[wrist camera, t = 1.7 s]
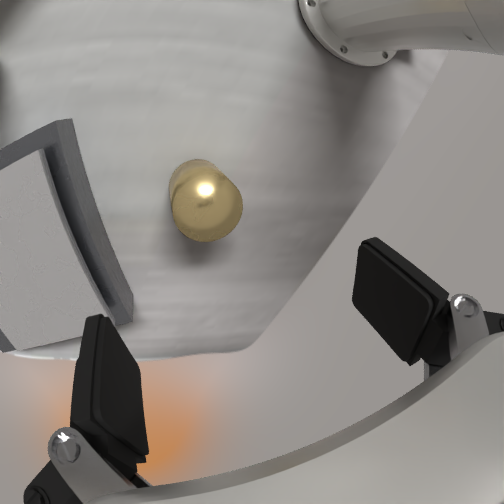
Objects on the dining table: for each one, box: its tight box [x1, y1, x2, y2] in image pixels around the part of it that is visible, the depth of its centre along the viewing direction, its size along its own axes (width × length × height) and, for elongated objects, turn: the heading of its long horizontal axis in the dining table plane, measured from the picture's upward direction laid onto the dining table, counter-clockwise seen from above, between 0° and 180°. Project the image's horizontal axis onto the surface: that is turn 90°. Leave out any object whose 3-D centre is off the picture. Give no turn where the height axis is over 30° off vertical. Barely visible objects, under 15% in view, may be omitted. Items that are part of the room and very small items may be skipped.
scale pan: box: [0, 148, 115, 351], centre depth 16 cm, size 12×15×1 cm
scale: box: [0, 118, 133, 353], centre depth 18 cm, size 18×18×4 cm
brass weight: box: [169, 159, 243, 242], centre depth 21 cm, size 5×5×6 cm
